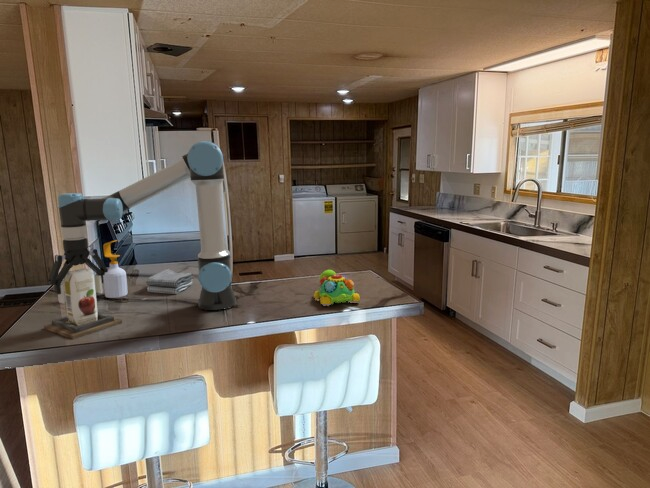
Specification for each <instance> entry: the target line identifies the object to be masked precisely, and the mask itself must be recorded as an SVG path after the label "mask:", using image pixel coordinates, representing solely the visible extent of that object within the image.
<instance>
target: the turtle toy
mask: <svg viewBox="0 0 650 488" xmlns="http://www.w3.org/2000/svg"><path fill="white" fill-rule="evenodd" d="M318 279H319V283H320V284H319V286H320V287H319V288H318V289H319V290H316V291H315V292H313V299H314V298H317V299H319V300H320V301H319V302H320V305H321V304H332V303H333V304H334V302H335V304H341V302H342V303H347V302H346V301H359V300H360V301H361V297H360V294H359V293H355V290H354V286H355V283H354V281H353V280H352V279H349V278H348V277H347V276H346V275H344V274H338V273H336V272H335V271H334V270H332V269H326V270H324V271H323V272H322V273H321V274H320V275H319V278H318ZM320 298H321V299H320ZM333 304H332V305H333Z"/></svg>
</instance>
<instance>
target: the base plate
mask: <svg viewBox="0 0 650 488" xmlns="http://www.w3.org/2000/svg"><path fill="white" fill-rule="evenodd" d="M122 323H123V320H122V319H121V318H118V317H115V316H113V315H109V314H106V313H103V312H100V311H98V317H97V321H93V322H90V323H87V324H84V325H81V326H75V325H72V324H70V323H69V320H68V317H67V315H66V316H64V317H59V318H56V319H53V320H51V322H50V323H48V324H44V325H43V329H44V330H45V331H49V332H51V333H56V334H58V335H60V336H63V337H66V338H69V339H71V340H75V339H78V338H81V337H83V336H87V335H90V334H92V333H95V332H98V331H99V332H100V331H102V330H105V329H108V328H111V327H114V326H117V325H120V324H122Z"/></svg>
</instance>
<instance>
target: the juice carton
mask: <svg viewBox="0 0 650 488" xmlns="http://www.w3.org/2000/svg"><path fill="white" fill-rule="evenodd" d="M63 287H64V296H65V309H66V316H67V317H68V320H69V323H70V324H72V325H75V326H81V325H84V324H87V323H90V322H93V321H97V317H98V312H99V311H98V301H97V294H96V293H97V292H96V283H95V275H94V271H93V270H92V269H91V268H90V269H89V268H84V267H82V268H78V269H75V270H69V271H68V273H67V274H66V276H65V278H64V279H63Z"/></svg>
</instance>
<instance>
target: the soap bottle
mask: <svg viewBox="0 0 650 488" xmlns="http://www.w3.org/2000/svg"><path fill="white" fill-rule="evenodd" d="M114 242H115V243H116V242H118V239H115V240H111V241H109V242H105V243H104V244H103V245H102V247H103V256H104V258H109V260H111V261H110V262H109V268H107V269H108V272H105V275H103V281H104V282H103V288H104V290H103V292H104V297H105V298H109V299H118V298H123V297H126V296H127V295H128V280H127V272H126V270H125V269H123V268H121V267H119V261H116V260H117V258H118V257H120V256H121V255H120V254H113V253H112V250H111V245H112V243H114Z"/></svg>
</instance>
